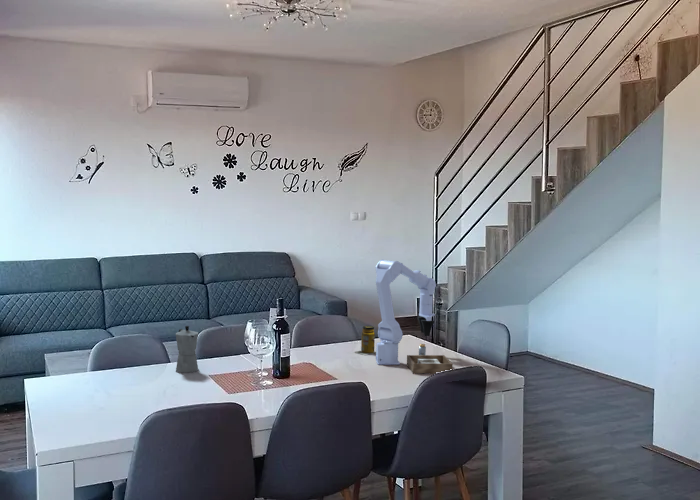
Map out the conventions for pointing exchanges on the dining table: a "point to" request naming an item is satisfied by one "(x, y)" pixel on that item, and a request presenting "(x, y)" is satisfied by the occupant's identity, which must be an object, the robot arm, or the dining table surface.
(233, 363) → the dining table surface
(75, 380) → the dining table surface
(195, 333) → the coffeepot
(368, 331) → the condiment
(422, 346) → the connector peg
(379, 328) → the robot arm
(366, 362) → the dining table surface
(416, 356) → the walled box
